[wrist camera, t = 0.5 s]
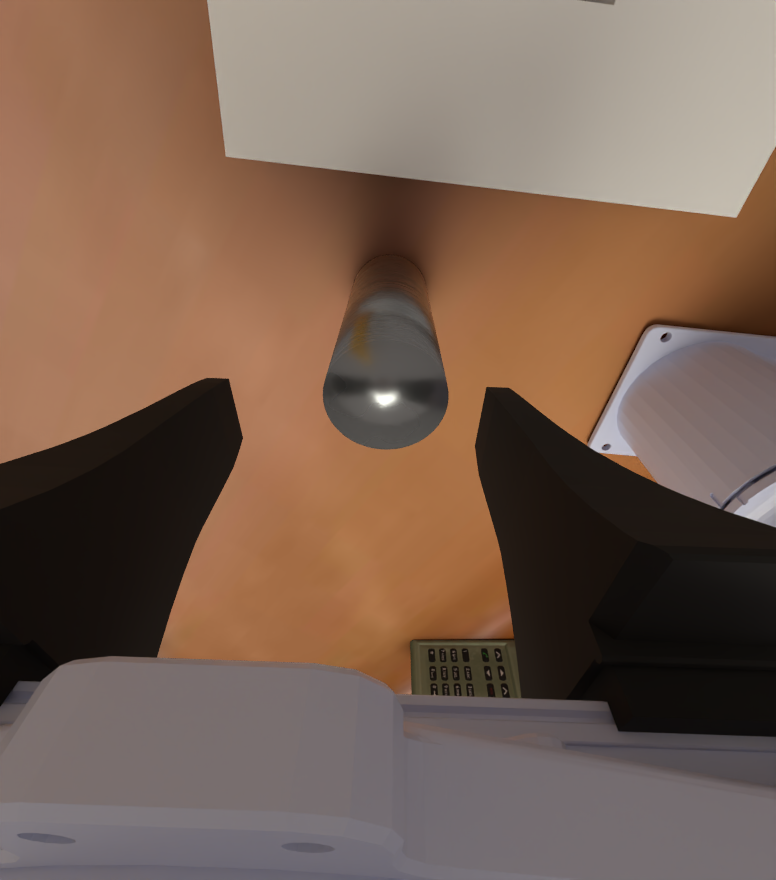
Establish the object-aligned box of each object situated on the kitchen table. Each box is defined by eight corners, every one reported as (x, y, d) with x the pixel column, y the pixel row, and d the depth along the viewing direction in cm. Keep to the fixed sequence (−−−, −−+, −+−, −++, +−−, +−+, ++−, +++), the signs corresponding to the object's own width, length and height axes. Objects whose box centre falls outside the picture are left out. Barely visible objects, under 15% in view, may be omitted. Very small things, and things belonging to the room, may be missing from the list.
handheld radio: (410, 634, 40) (666, 633, 39) (410, 649, 42) (653, 648, 41) (412, 712, 34) (708, 713, 33) (412, 724, 37) (691, 725, 36)
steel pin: (432, 259, 18) (460, 347, 10) (420, 333, 21) (436, 454, 13) (354, 250, 18) (322, 334, 10) (351, 326, 20) (322, 444, 12)
